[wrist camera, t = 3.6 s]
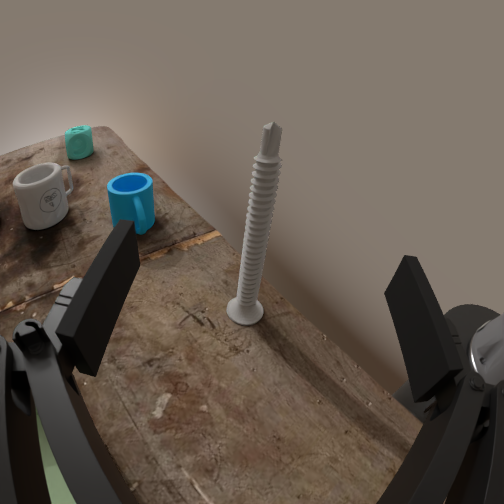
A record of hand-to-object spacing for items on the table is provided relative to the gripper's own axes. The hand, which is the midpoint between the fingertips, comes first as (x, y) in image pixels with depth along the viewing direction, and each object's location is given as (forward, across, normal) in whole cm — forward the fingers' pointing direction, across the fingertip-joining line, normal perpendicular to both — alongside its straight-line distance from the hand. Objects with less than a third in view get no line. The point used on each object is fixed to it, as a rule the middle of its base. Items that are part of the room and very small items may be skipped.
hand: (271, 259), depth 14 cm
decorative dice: (+65, -52, -24) cm, 86 cm away
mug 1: (+34, -42, -24) cm, 59 cm away
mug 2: (+32, -21, -24) cm, 45 cm away
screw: (+16, 0, -24) cm, 29 cm away
